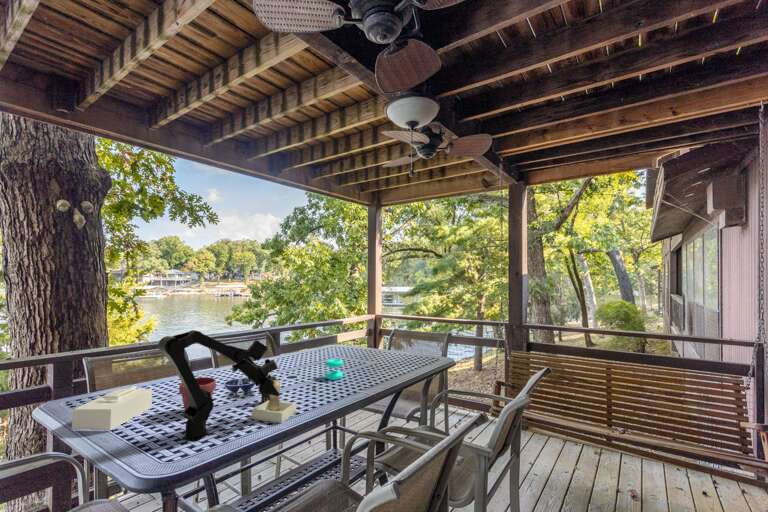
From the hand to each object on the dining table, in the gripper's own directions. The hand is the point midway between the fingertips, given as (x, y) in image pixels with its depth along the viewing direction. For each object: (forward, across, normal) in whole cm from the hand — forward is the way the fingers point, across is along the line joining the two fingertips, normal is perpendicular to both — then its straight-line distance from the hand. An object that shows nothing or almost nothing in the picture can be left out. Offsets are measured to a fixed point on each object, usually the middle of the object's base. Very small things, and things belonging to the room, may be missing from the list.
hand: (278, 393), depth 155 cm
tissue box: (-36, +25, +50) cm, 66 cm away
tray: (+5, 0, +7) cm, 9 cm away
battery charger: (+6, +19, +7) cm, 21 cm away
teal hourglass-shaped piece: (+34, +45, -21) cm, 60 cm away
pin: (+4, 0, +6) cm, 7 cm away
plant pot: (-15, +20, +28) cm, 38 cm away
